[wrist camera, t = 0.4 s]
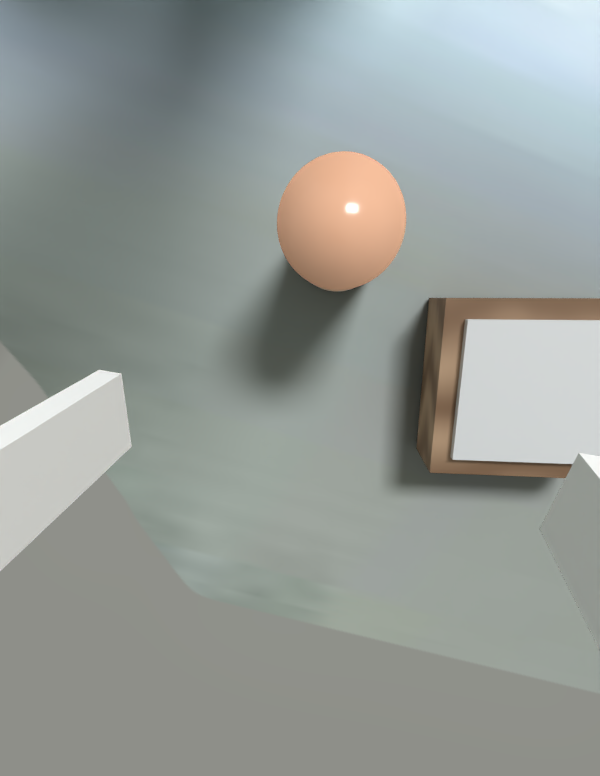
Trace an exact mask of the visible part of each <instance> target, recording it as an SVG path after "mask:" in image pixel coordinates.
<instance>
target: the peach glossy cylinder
mask: <svg viewBox="0 0 600 776" xmlns="http://www.w3.org/2000/svg"><path fill="white" fill-rule="evenodd" d="M405 226H406V209H405V203H404V199H403V195H402V193H401V190H400V188H399V186H398V184H397V182H396V180H395V179H394V177H393V176H392V175H391V173H390V172H389V171H388V170H387V169H386V168H385V167H384V166H383V165H381V164H380V163H379V162H377V161H376V160H374V159H372V158H370V157H368V156H366V155H363V154H360V153H355V152H345V151H342V152H333V153H329V154H325V155H323V156H320V157H318V158H316V159H314V160H312V161H310V162H309V163H307V164H306V165H305V166H304V167H302V168H301V169H300V170H299V171H298V172H297V173H296V174H295V175H294V177H293V178H292V179H291V181H290V182H289V184H288V186H287V187H286V189H285V191H284V193H283V196H282V198H281V201H280V205H279V209H278V215H277V231H278V237H279V242H280V245H281V248H282V251H283V253H284V255H285V257H286V259H287V260H288V262H289V264H290V265H291V266H292V267H293V269H294V270H295V271H296V272H297V273H298V274H299V275H300V276H301V277H303V278H304V279H306V280H307V281H309V282H310V283H312V284H314V285H315V286H317V287H319V288H321V289H323V290H326V291H331V292H342V291H347V290H350V289H353V288H356V287H358V286H361V285H364V284H366V283H368V282H370V281H371V280H373V279H374V278H376V277H377V276H379V275H380V274H381V273H382V272H383V271H384V270H385V269H386V268H387V267H388V266H389V265H390V263H391V262H392V261H393V259H394V258H395V256H396V254H397V252H398V251H399V249H400V246H401V243H402V241H403V237H404V233H405Z"/></svg>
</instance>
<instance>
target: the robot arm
mask: <svg viewBox="0 0 600 776" xmlns="http://www.w3.org/2000/svg"><path fill="white" fill-rule="evenodd" d="M131 447H132V445H131V438H130V431H129V424H128V416H127V409H126V402H125V395H124V388H123V381H122V374H121V373H115V372H109V371H103V370H98V371H96V372H94V373H93V374H91V375H89V376H87V377H85V378H84V379H82V380H80V381H78V382H77V383H75V384H73V385H71V386H70V387H68V388H66V389H64V390H63V391H61V392H59V393H57V394H55V395H54V396H52V397H50V398H48V399H47V400H45V401H43V402H41V403H40V404H38V405H36V406H34V407H33V408H31V409H29V410H27V411H25V412H24V413H22V414H20V415H18V416H17V417H15V418H13V419H11V420H10V421H8V422H6V423H4V424H2V425H1V426H0V571H1V570H2V569H3V568H4V567H5V566H6V565H7V564H8V563H9V562H11V561H12V560H13V559H14V558H15V557H16V556H17V555H18V554H19V553H20V552H21V551H22V550H23V549H24V548H25V547H26V546H27V545H28V544H29V543H30V542H32V541H33V540H34V539H35V538H36V537H37V536H38V535H39V534H40V533H41V532H42V531H43V530H44V529H45V528H46V527H47V526H48V525H49V524H51V523H52V522H53V521H54V520H55V519H56V518H57V517H58V516H59V515H60V514H61V513H62V512H63V511H64V510H65V509H66V508H67V507H69V506H70V505H71V504H72V503H73V502H74V501H75V500H76V499H77V498H78V497H79V496H80V495H81V494H82V493H83V492H84V491H85V490H86V489H88V487H90V486H91V485H92V484H93V483H94V482H95V481H96V480H97V479H98V478H99V477H100V476H101V475H102V474H103V473H104V472H106V471H107V470H108V469H109V468H110V467H111V466H112V465H113V464H114V463H115V462H116V461H117V460H118V459H119V458H120V457H121V456H122V455H123V454H125V453H126V452H127V451H128V450H129V449H130V448H131ZM540 531H541V533H542V535H543V537H544V539H545V541H546V543H547V545H548V547H549V549H550V551H551V553H552V555H553V557H554V559H555V561H556V563H557V565H558V567H559V569H560V572H561V574H562V576H563V578H564V580H565V582H566V584H567V586H568V588H569V590H570V592H571V594H572V596H573V598H574V600H575V602H576V604H577V606H578V608H579V610H580V612H581V614H582V616H583V618H584V620H585V622H586V624H587V626H588V628H589V630H590V632H591V634H592V636H593V638H594V640H595V642H596V644H597V646H598V648H599V650H600V456H595V455H589V454H583V453H578V455H577V457H576V459H575V461H574V463H573V465H572V467H571V469H570V471H569V473H568V474H567V476H566V478H565V480H564V482H563V484H562V486H561V488H560V490H559V492H558V494H557V496H556V498H555V500H554V502H553V503H552V505H551V507H550V509H549V511H548V513H547V515H546V517H545V519H544V521H543V523H542V525H541V527H540Z"/></svg>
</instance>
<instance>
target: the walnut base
mask: <svg viewBox="0 0 600 776" xmlns="http://www.w3.org/2000/svg"><path fill="white" fill-rule="evenodd" d="M417 450H418V452H419V454H420V456H421V458H422V459H423V461H424V463H425V465H426V467H427V468H428V470H429V472H430V473H450V474H476V475H501V476H526V477H551V478H566V476H567V474H568V473H569V471H570V469H571V467H572V465H573V463H574V461H575V459H576V457H577V455H578V453H583V454H589V455H595V456H600V298H429V305H428V317H427V329H426V341H425V353H424V365H423V377H422V389H421V401H420V413H419V425H418V437H417Z"/></svg>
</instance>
